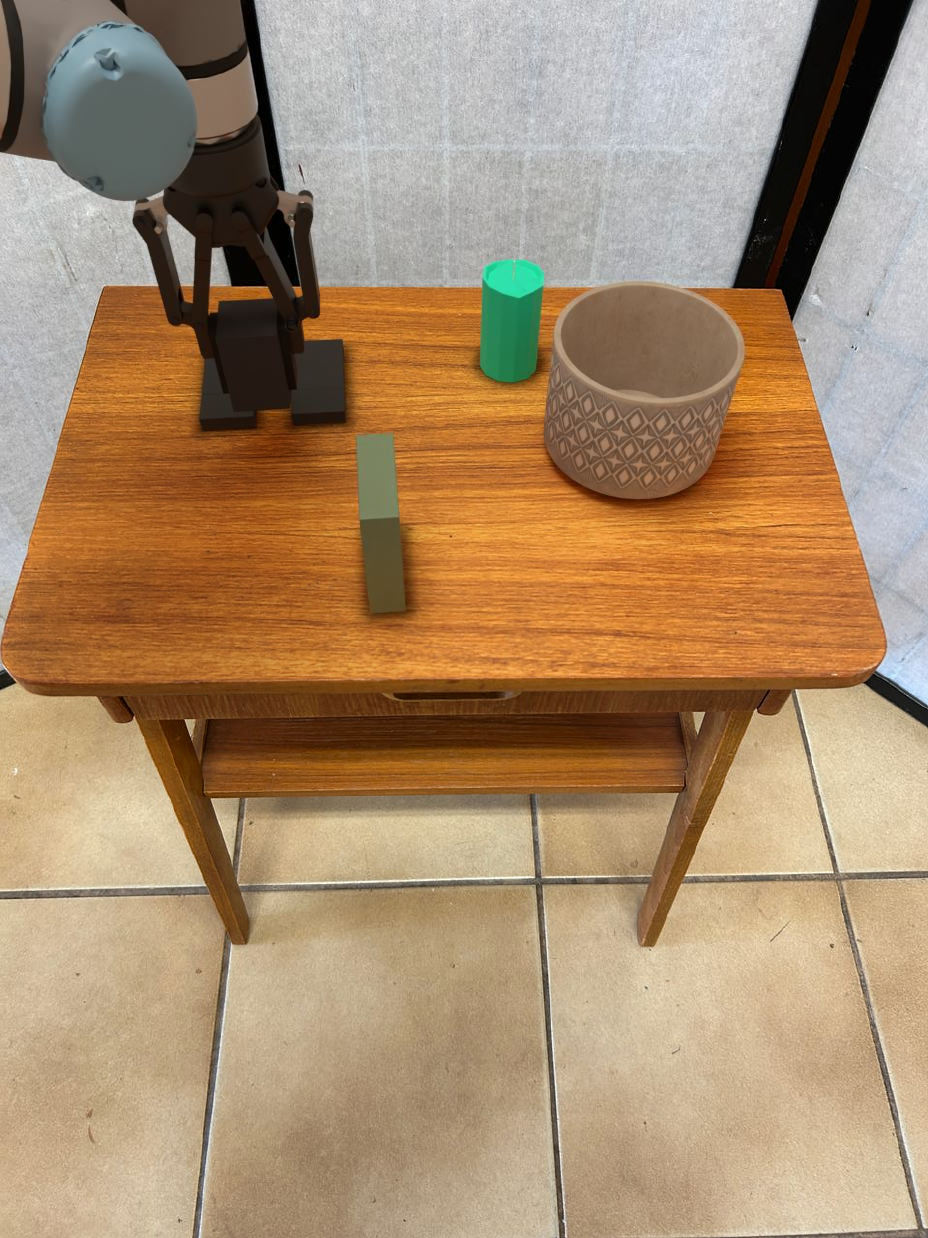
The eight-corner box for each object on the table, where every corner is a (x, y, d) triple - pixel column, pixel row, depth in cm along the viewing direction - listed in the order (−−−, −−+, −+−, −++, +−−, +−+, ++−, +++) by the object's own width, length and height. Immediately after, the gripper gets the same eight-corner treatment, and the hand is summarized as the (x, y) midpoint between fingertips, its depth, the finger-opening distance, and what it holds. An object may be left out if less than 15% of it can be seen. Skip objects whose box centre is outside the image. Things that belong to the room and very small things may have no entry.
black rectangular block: (233, 412, 84) (215, 338, 78) (237, 353, 89) (220, 278, 82) (290, 409, 85) (276, 334, 78) (291, 350, 89) (278, 276, 83)
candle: (470, 373, 98) (472, 271, 88) (491, 339, 101) (496, 236, 92) (525, 388, 97) (533, 286, 87) (544, 353, 100) (555, 251, 90)
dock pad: (202, 430, 93) (198, 419, 92) (209, 357, 99) (206, 345, 98) (346, 422, 94) (344, 410, 92) (343, 350, 100) (342, 338, 99)
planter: (561, 517, 87) (576, 411, 76) (527, 396, 96) (537, 288, 86) (734, 499, 88) (772, 393, 78) (684, 381, 98) (712, 273, 87)
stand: (370, 614, 80) (359, 519, 70) (366, 533, 85) (355, 434, 76) (405, 611, 80) (399, 516, 71) (399, 531, 86) (393, 432, 76)
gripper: (334, 86, 69) (360, 348, 88) (79, 96, 68) (161, 359, 86) (336, 141, 64) (363, 404, 83) (63, 152, 63) (154, 416, 82)
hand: (260, 380), depth 85 cm, fingers closed on black rectangular block, 5 cm apart
